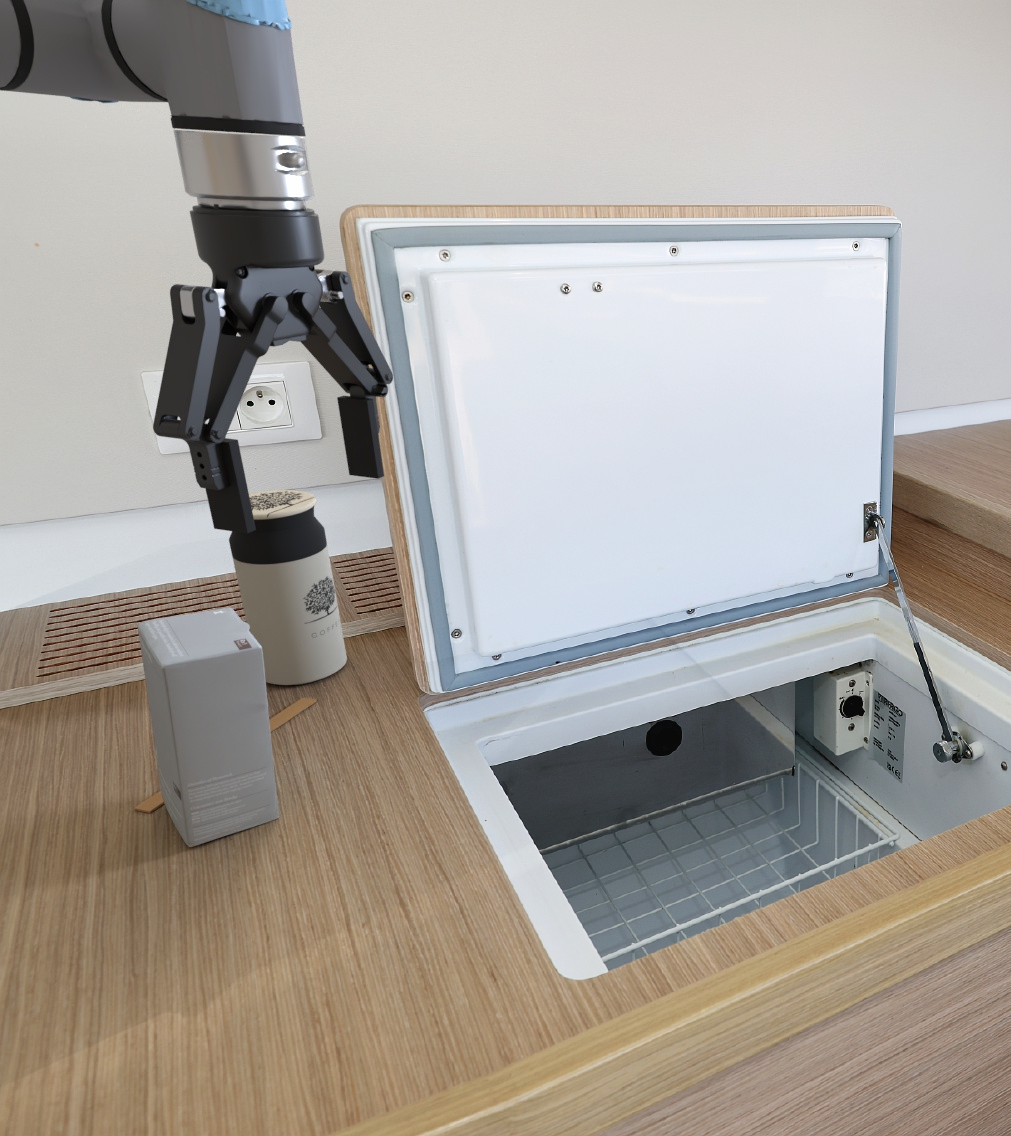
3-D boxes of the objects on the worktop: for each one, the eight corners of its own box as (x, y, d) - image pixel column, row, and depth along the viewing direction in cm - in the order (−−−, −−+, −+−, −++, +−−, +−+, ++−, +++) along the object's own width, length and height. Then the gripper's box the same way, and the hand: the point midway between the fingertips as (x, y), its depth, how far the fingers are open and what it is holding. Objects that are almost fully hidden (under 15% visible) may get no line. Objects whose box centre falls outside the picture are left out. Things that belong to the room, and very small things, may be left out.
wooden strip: (134, 810, 75) (133, 807, 75) (303, 699, 91) (302, 697, 91) (150, 813, 75) (149, 811, 75) (316, 701, 91) (316, 699, 91)
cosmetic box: (161, 801, 76) (120, 622, 70) (261, 770, 81) (231, 600, 75) (187, 854, 70) (146, 665, 65) (293, 817, 75) (263, 638, 69)
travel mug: (240, 675, 95) (202, 505, 88) (311, 643, 101) (281, 483, 94) (294, 695, 92) (259, 521, 85) (364, 661, 98) (337, 497, 92)
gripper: (135, 211, 52) (214, 565, 60) (418, 204, 75) (448, 462, 83) (23, 202, 53) (115, 550, 62) (335, 198, 76) (372, 453, 84)
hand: (306, 500), depth 72 cm, fingers open, 13 cm apart
